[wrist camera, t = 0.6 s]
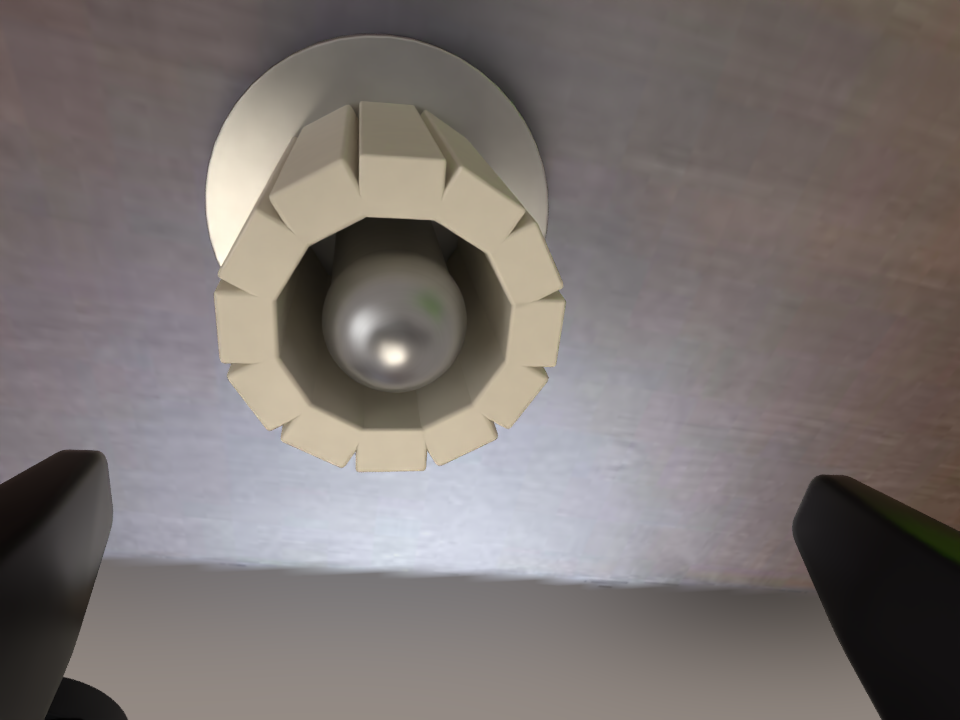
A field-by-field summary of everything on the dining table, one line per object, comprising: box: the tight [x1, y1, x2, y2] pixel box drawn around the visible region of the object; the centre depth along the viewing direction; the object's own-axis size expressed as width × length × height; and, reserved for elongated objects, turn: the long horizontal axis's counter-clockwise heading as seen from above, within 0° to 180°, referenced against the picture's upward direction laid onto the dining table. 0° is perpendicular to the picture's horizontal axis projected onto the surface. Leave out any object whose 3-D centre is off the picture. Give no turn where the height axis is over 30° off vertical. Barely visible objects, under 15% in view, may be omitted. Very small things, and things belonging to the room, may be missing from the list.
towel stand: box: [205, 34, 549, 393], centre depth 15 cm, size 9×9×9 cm
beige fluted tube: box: [214, 101, 566, 472], centre depth 15 cm, size 6×6×7 cm
